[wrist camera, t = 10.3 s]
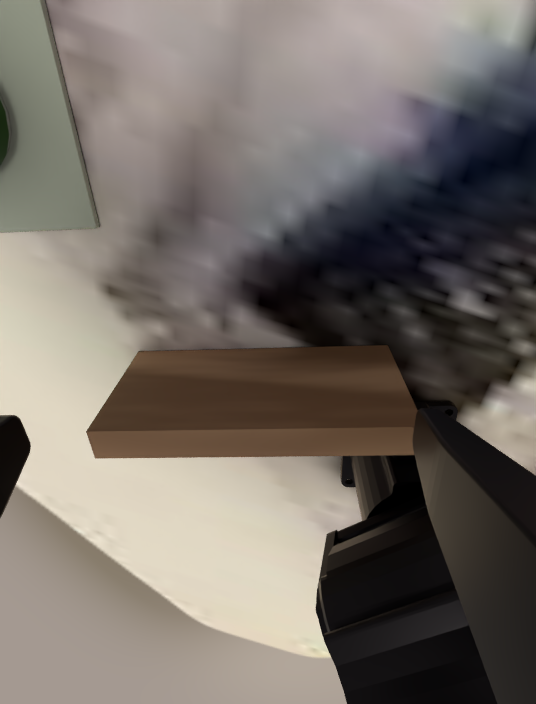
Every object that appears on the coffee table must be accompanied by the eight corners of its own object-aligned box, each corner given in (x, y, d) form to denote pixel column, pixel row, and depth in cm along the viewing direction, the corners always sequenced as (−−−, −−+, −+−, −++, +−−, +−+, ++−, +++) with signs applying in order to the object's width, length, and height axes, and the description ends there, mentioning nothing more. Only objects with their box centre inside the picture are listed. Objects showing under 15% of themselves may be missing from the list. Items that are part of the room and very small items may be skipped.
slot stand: (385, 368, 23) (420, 455, 17) (143, 373, 24) (95, 458, 18) (477, -550, 10) (754, -1526, 4) (-52, -469, 11) (-460, -1186, 5)
